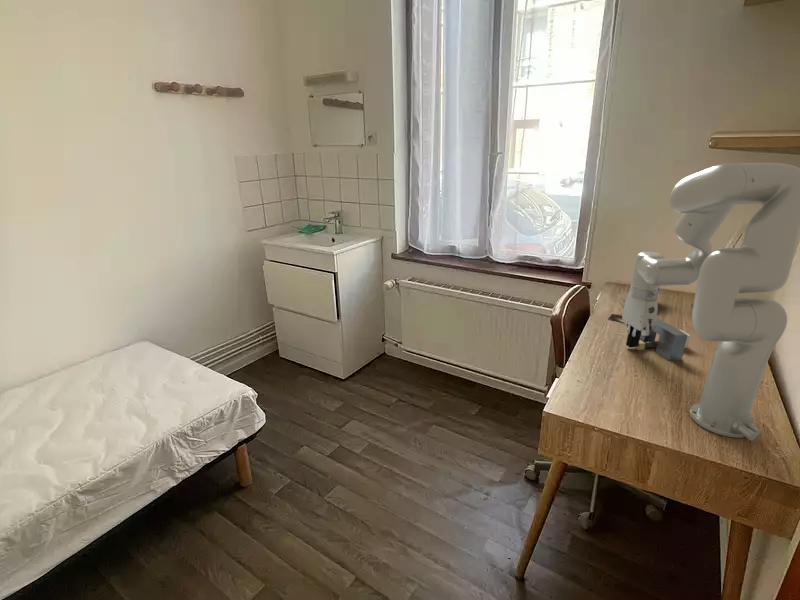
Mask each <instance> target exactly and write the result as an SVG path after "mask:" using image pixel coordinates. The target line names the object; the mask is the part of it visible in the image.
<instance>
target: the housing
mask: <svg viewBox="0 0 800 600" xmlns="http://www.w3.org/2000/svg"><path fill="white" fill-rule="evenodd" d="M680 330H681V329H680ZM680 330H679V328H677V327H675V326H673V325H671V324H669V323H667V322H666V321H664V320H662V319H660V318H659V317H657V319H656V324H655V328H654V330H649V335H648V336H643V335H642V336H640V340H641V341H642V342H652V341H656V338H657V334H658V335H659V337H658V340H657V341H658V344H657V347H656V349H655V353H657V354H659V355H660V356H661V357H663V358H664V359H666V360H667V361H669V362H670V361H671V362H672V361H681V360H682V358H683V355H684V354H683V353H684V350H685V348H684V347H685V343H686V339H687V334H688V333H687V334H685V333H686V332H685V331H683V330H682V331H683V332H682V331H680ZM638 331H639V330H638ZM684 332H685V333H684Z"/></svg>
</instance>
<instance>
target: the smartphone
mask: <svg viewBox="0 0 800 600" xmlns="http://www.w3.org/2000/svg"><path fill="white" fill-rule="evenodd" d="M607 320H608V321H610V320H611V321H610V322H615V321H616V322H615V323H619V322H620V323H621V324H624V320H623V319H622V314H621V315H619V314H616V313H611V314H610V316H609V317H608V318H607Z"/></svg>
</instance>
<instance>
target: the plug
mask: <svg viewBox="0 0 800 600" xmlns="http://www.w3.org/2000/svg"><path fill="white" fill-rule="evenodd" d="M678 330H680V331H682V332H684V333H685V334H687V339H686V343H685V347H684V349H686V348H688V346H689V341H690V338H691V335H690V334H688V333H687V332H685V331H684V330H682V329H679V328H678ZM657 344H658V340H655V341H652V342H642V341H641V340H639V345H638V347H634V349H636V350H637V351H644V350H645V349H647V348H657Z"/></svg>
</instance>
